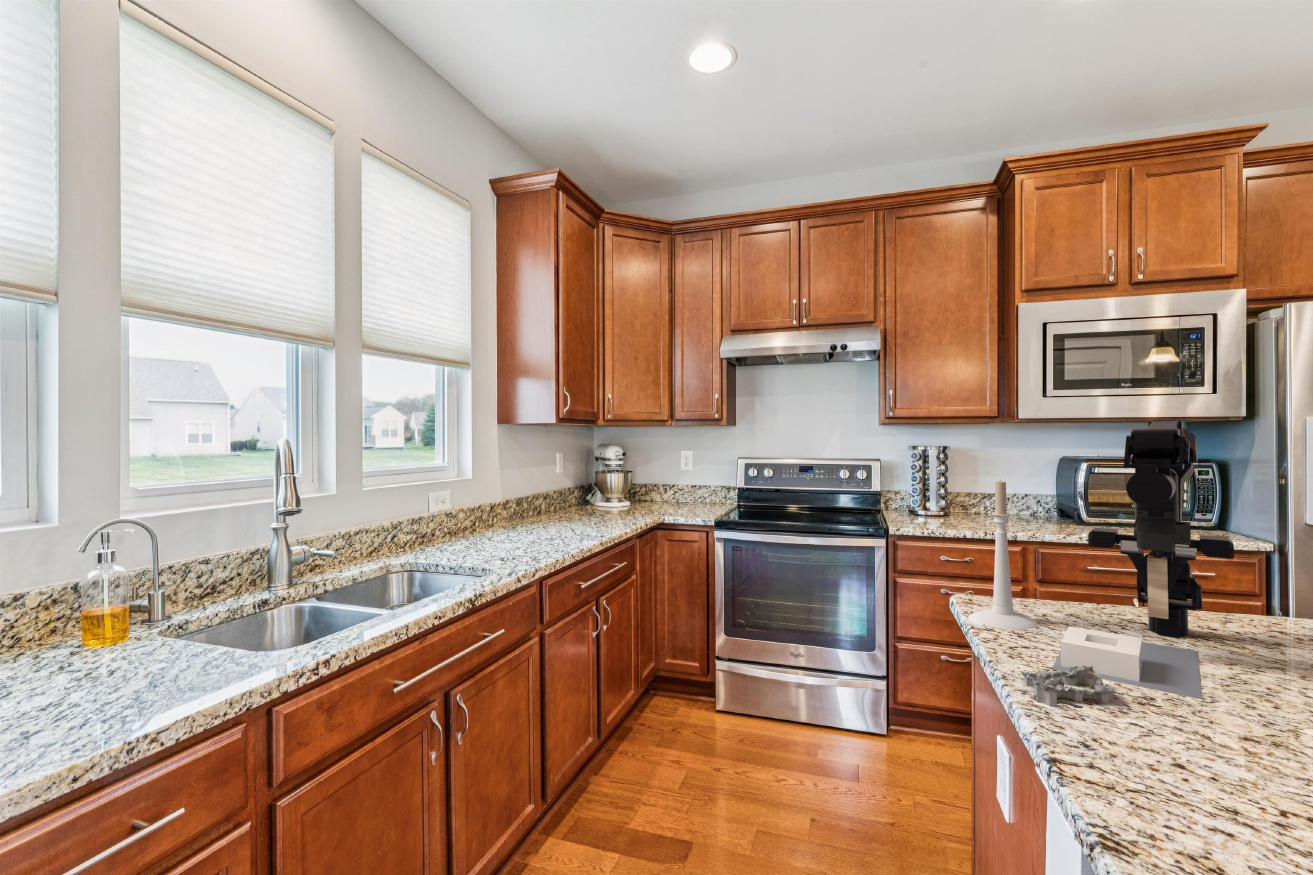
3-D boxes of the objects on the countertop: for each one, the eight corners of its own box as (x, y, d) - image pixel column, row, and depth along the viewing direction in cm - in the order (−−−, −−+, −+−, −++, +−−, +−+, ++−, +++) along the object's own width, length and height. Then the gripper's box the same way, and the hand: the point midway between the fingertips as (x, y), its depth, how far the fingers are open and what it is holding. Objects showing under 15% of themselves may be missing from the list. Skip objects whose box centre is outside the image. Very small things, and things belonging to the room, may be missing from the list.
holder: (1069, 648, 104) (1069, 626, 104) (1142, 662, 98) (1142, 638, 98) (1061, 665, 97) (1060, 641, 97) (1139, 681, 90) (1138, 655, 90)
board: (1071, 635, 114) (1071, 629, 114) (1197, 656, 102) (1197, 651, 102) (1052, 674, 96) (1051, 668, 96) (1201, 705, 84) (1201, 698, 84)
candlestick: (1000, 638, 113) (997, 482, 113) (954, 618, 126) (951, 478, 126) (1056, 632, 116) (1053, 480, 116) (1005, 613, 129) (1002, 476, 129)
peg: (1148, 612, 103) (1147, 548, 103) (1168, 615, 101) (1167, 550, 101) (1148, 616, 101) (1146, 550, 101) (1168, 618, 99) (1167, 552, 99)
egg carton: (1095, 691, 90) (1095, 665, 90) (1122, 714, 83) (1122, 685, 83) (1018, 685, 93) (1018, 659, 93) (1037, 707, 85) (1037, 679, 85)
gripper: (1083, 502, 101) (1085, 593, 101) (1235, 510, 89) (1237, 613, 89) (1090, 497, 109) (1092, 580, 109) (1230, 503, 97) (1232, 597, 97)
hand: (1157, 592), depth 101 cm, fingers closed on peg, 3 cm apart
